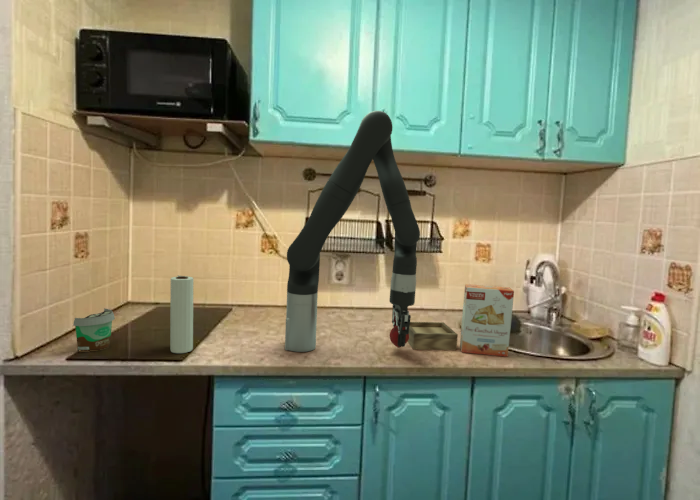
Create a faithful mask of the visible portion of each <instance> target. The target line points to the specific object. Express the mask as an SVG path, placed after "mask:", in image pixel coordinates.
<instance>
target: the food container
mask: <svg viewBox="0 0 700 500" xmlns="http://www.w3.org/2000/svg"><path fill="white" fill-rule="evenodd" d="M115 319H116V318H115V314H114V312H113V310H111V309H109V308H103V311H102V312H99V313H93V314H89V315H87V316H85V317H75V318H74V319H73V323H72V325H73V326H74V327H75V328H74V329H75V336H76V346H77V351H78V350H81V351H83V350H84V351H87V350H88V351H90V350H100V349H104V348H107V347H108V348H110V346H111V338H112V337H111V335H112V327H113V326H112V324H113V321H114V320H115ZM108 348H107V349H108ZM104 350H105V349H104Z"/></svg>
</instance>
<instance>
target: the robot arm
mask: <svg viewBox="0 0 700 500" xmlns="http://www.w3.org/2000/svg"><path fill="white" fill-rule="evenodd" d="M393 128H394V127H393V122H392V120H391V118H390V116H389V115H388V114H387V112H384V111H383V110H372V111H370V112H369V113H367V114H365V116H363V118H362V119H361V122H360V124H359V127H358V129H357V130H356V134H355V136H354V138H353V140H352V141H351V145H349V148H348V150H347V152H346V153H345V155H344V156H343V157H342V159H341V160H340V161H339V163H338V164H337V165H336V167H335V169H334V170H333V172H332V174H330V176H329V178H328V179H327V181H326V183H325V184H324V187H323V188H322V190H321V192H320V194H319V196H318V198H317V200H316V201H315V203H314V206H313V208H312V211H311V213H310V216H309V217H308V219H307V221H306V223H305V224H304V226H303V227H302V228H301V231H299V233H298V235H297V236H296V237H295V239H294V240H293V241H292V243H290V245H289V246H288V248H287V251H286V261H287V262H288V265H289V268H288V270H289V271H288V279H287V284H286V285H287V286H286V293H287V294H286V311H285V312H286V313H285V314H286V315H285V332H284V335H285V336H284V337H285V338H284V350H285V351H291V352H298V353H306V352H311V351H314V350H315V349H316V346H317V344H316V343H317V321H318V319H317V317H318V299H319V297H318V296H319V295H318V294H319V292H318V291H319V282H320V265H321V263H320V262H321V251H322V249H323V247H324V245H325V243H326V241H327V239H328V237H329V235H330V234H331V232H332V231H333V229H334V228H336V226H337V225H338V223H339V222H341V221H340V220H342V218H343V217H344V215H345V214H346V212H347V211H348V209H349V208H350V206H351V205H352V203H353V201H354V199H355V198H356V196H357V194H358V192H359V190H360V189H361V186H362V184H363V182H364V179H365V176H366V174H367V171H368V169H369V167H370V165H371V163H372V161H373V163H374V167H375V169H376V172H377V173H376V174H377V176H378V180H379V185H380V189H381V191H382V196H383V199H384V203H385V206H386V209H387V211H388V214H389V216H390V219H391V221H392V227H393V230H394V247H393V248H394V255H393V260H392V273H391V278H390V289H389V303H390V304H392V313H391V315H392V317H391V323H392V327H395V326H396V325H397V326H398V342H397V345H398V346H399V347H400V348H403V347H405V346H406V344H405V341H406V334H409V327H410V322H411V318H412V315H411V314H410V311H409V309H408V308H409V307H412V306H414V305H415V300H416V289H417V287H416V286H417V266H418V264H417V263H418V260H417V247H418V241H419V240H420V237H421V230H420V228H419V224H418V222H417V219H416V216H415V214H414V212H413V209H412V205H411V204H412V203H411V200H410V196H409V192H408V190H407V187H406V183H405V181H404V178H403V176H402V174H401V172H400V169H399V167H398V163H397V162H396V158H395V154H394V151H393V143H392V133H393ZM403 327H404V328H405V330H402V329H403Z"/></svg>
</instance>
